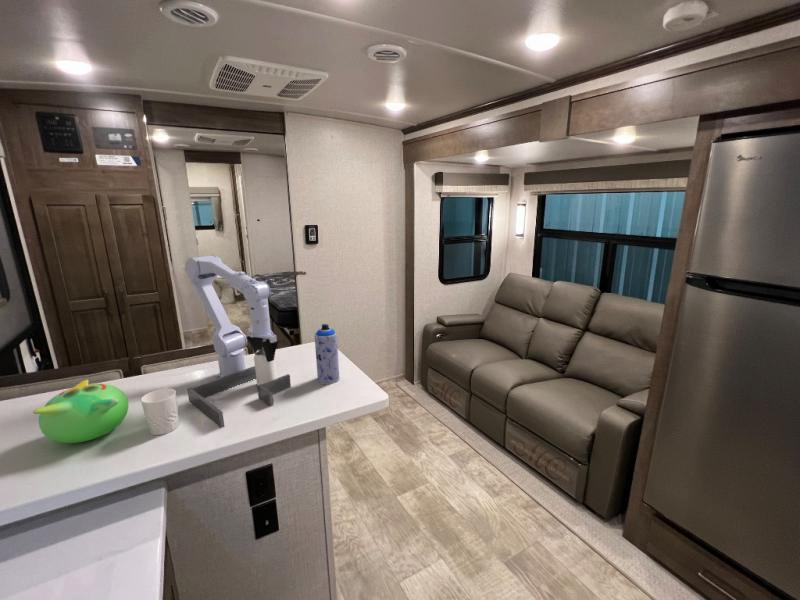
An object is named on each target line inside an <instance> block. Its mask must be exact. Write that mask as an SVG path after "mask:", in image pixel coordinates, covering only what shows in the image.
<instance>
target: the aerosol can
mask: <svg viewBox="0 0 800 600" xmlns="http://www.w3.org/2000/svg"><path fill="white" fill-rule="evenodd" d="M338 345H339V343H338V333H337V332H336V331H335V330H334V329H333V328H331V327H329V324H326V323H324V324H322V325H321V327H320V328H319V329H318V330H317V331H316V332H315V334H314V346H315V347H314V348H315V359H316V360H315V361H316V362H315V363H316V374H317V379H316V381H317V382H318V383H319V384H321V385H332V384H333V385H334V384H335V383H337V382H339V381H340V379H341V376H340V365H339V363H340V362H339V347H338Z"/></svg>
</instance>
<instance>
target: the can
mask: <svg viewBox="0 0 800 600" xmlns="http://www.w3.org/2000/svg"><path fill="white" fill-rule="evenodd" d="M253 360H254V366H255V371H256V379H255V380H256V387H257V386H258V385H261V384H264V383H266V382H269V381H271V380H274V379H277V378H278V377H277V367H276V357H274V360H273V361H270V362H267V359H266V355H265V352H264V349H263V348H262V349H261V350H258V351H256V352H255V354H254V357H253Z"/></svg>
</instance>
